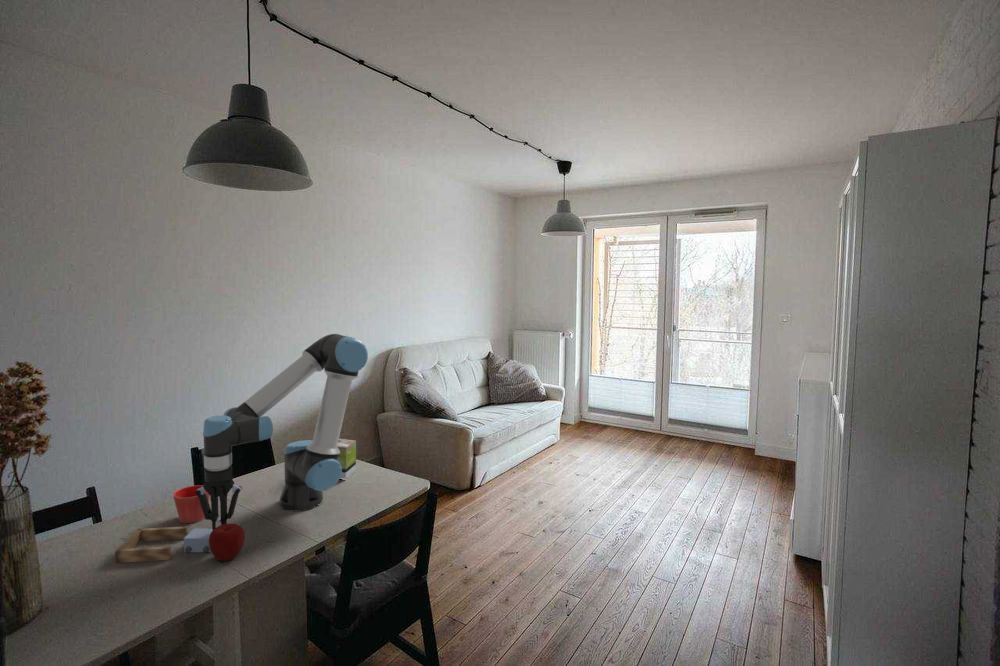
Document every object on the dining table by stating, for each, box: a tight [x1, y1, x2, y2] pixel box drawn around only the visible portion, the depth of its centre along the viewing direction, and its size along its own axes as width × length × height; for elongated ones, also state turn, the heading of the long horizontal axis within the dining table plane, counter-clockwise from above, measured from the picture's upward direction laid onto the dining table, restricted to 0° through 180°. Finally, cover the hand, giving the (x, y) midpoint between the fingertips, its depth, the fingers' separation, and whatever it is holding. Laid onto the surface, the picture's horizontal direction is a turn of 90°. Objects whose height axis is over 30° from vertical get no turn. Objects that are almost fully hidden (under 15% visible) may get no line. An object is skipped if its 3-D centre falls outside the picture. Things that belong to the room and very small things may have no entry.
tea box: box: [337, 438, 357, 478], centre depth 218 cm, size 15×10×15 cm
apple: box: [209, 522, 246, 562], centre depth 153 cm, size 10×10×10 cm
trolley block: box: [183, 528, 213, 553], centre depth 159 cm, size 8×7×4 cm
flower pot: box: [172, 484, 210, 524], centre depth 176 cm, size 11×11×10 cm
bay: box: [114, 526, 189, 564], centre depth 157 cm, size 14×13×4 cm
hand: (219, 539), depth 160 cm, fingers closed
